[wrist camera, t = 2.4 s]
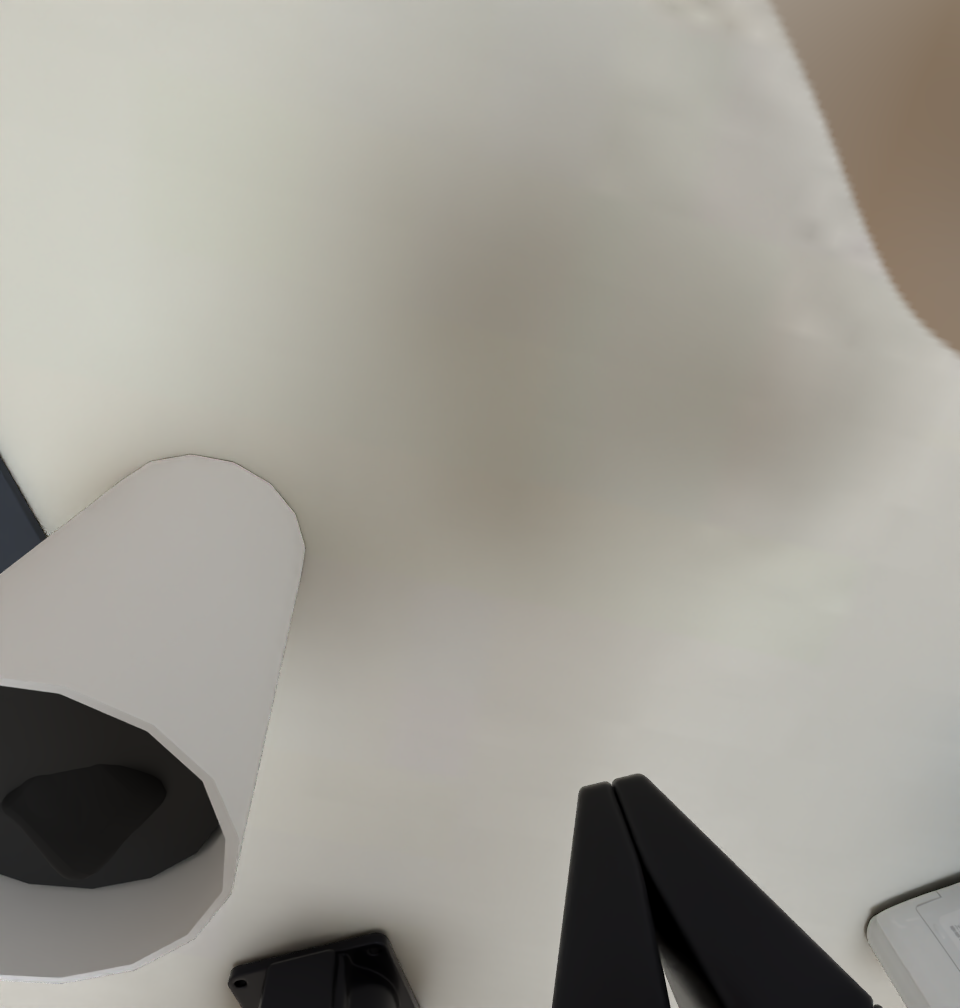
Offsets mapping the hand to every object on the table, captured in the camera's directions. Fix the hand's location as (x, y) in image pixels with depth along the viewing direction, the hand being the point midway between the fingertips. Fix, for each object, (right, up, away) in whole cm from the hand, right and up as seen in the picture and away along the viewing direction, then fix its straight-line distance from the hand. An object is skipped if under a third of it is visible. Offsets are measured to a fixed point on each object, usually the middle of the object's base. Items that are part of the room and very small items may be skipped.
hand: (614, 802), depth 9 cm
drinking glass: (-10, +3, +11) cm, 15 cm away
